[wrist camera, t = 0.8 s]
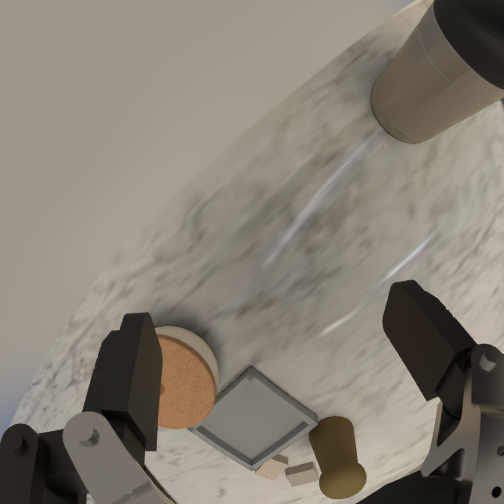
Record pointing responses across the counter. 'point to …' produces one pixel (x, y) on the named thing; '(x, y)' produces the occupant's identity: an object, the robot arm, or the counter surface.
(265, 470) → the tan block
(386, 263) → the counter surface
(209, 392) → the lidded jar
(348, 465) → the pepper mill
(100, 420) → the robot arm
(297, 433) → the parts tray
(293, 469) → the beige rectangular block
